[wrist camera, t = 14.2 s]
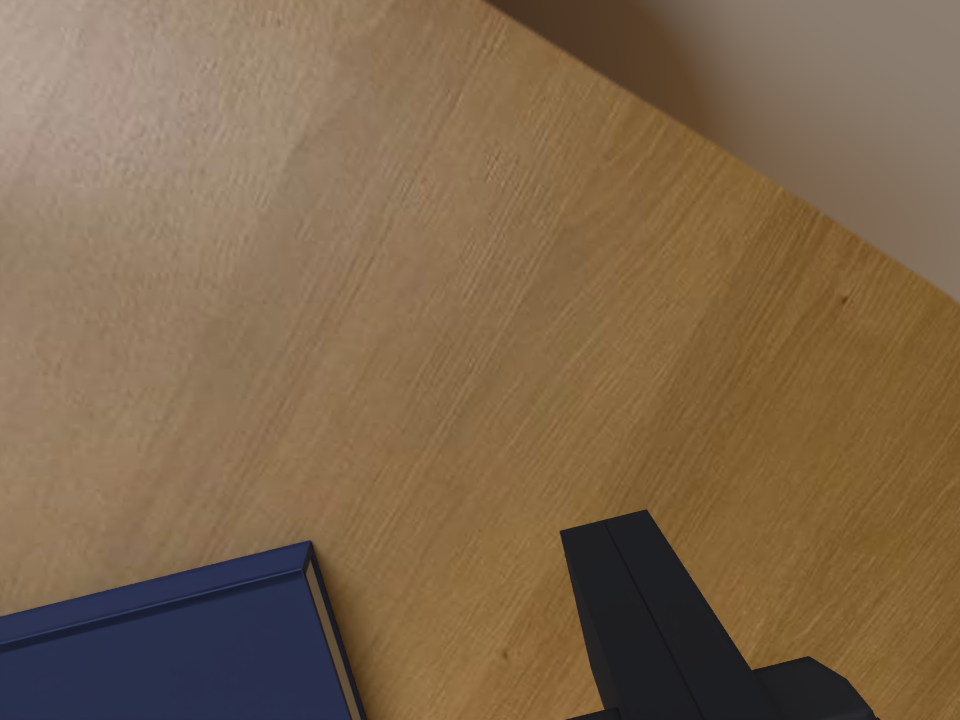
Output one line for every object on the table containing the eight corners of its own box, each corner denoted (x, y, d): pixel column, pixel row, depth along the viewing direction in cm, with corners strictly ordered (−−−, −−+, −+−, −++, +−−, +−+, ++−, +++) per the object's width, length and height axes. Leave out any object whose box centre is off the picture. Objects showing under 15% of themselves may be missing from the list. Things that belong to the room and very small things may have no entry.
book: (310, 539, 39) (301, 568, 36) (374, 743, 42) (371, 784, 39) (-144, 652, 38) (-190, 690, 35) (-45, 849, 42) (-80, 899, 39)
